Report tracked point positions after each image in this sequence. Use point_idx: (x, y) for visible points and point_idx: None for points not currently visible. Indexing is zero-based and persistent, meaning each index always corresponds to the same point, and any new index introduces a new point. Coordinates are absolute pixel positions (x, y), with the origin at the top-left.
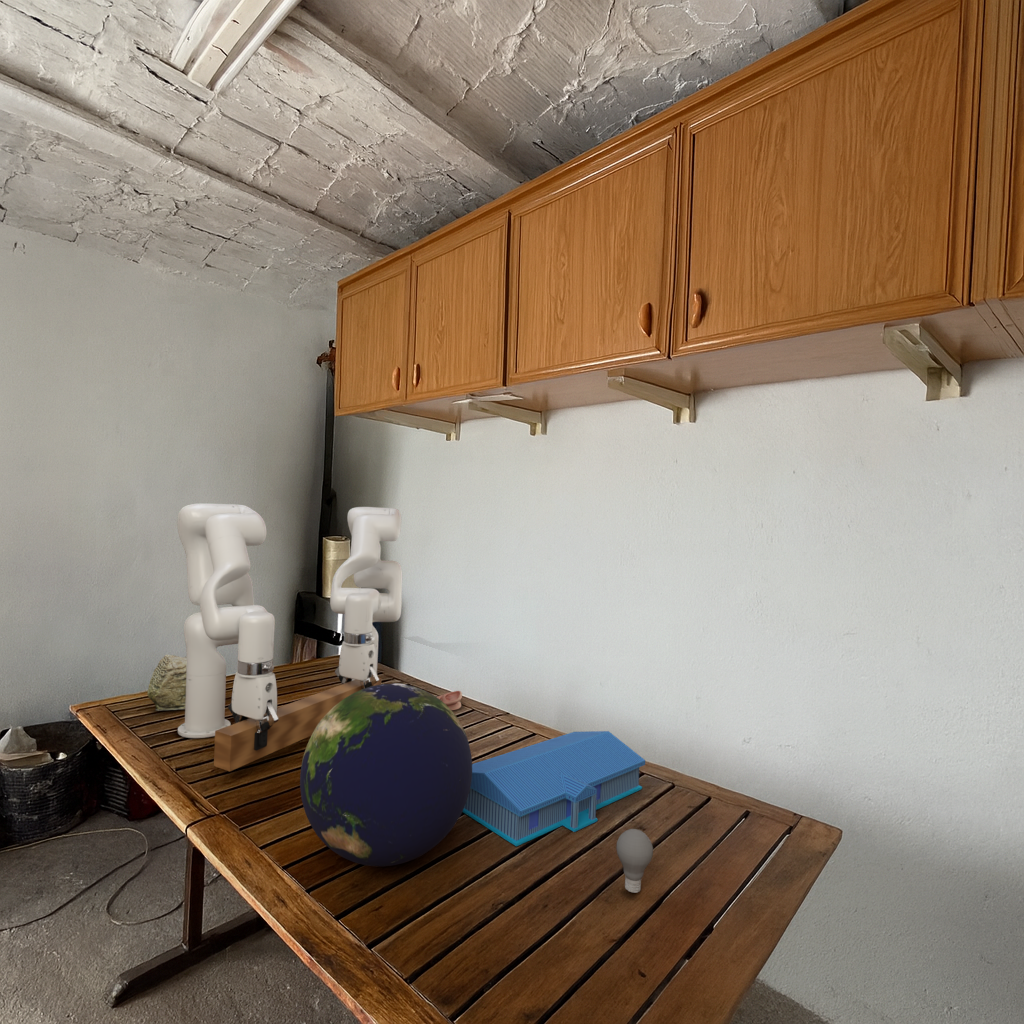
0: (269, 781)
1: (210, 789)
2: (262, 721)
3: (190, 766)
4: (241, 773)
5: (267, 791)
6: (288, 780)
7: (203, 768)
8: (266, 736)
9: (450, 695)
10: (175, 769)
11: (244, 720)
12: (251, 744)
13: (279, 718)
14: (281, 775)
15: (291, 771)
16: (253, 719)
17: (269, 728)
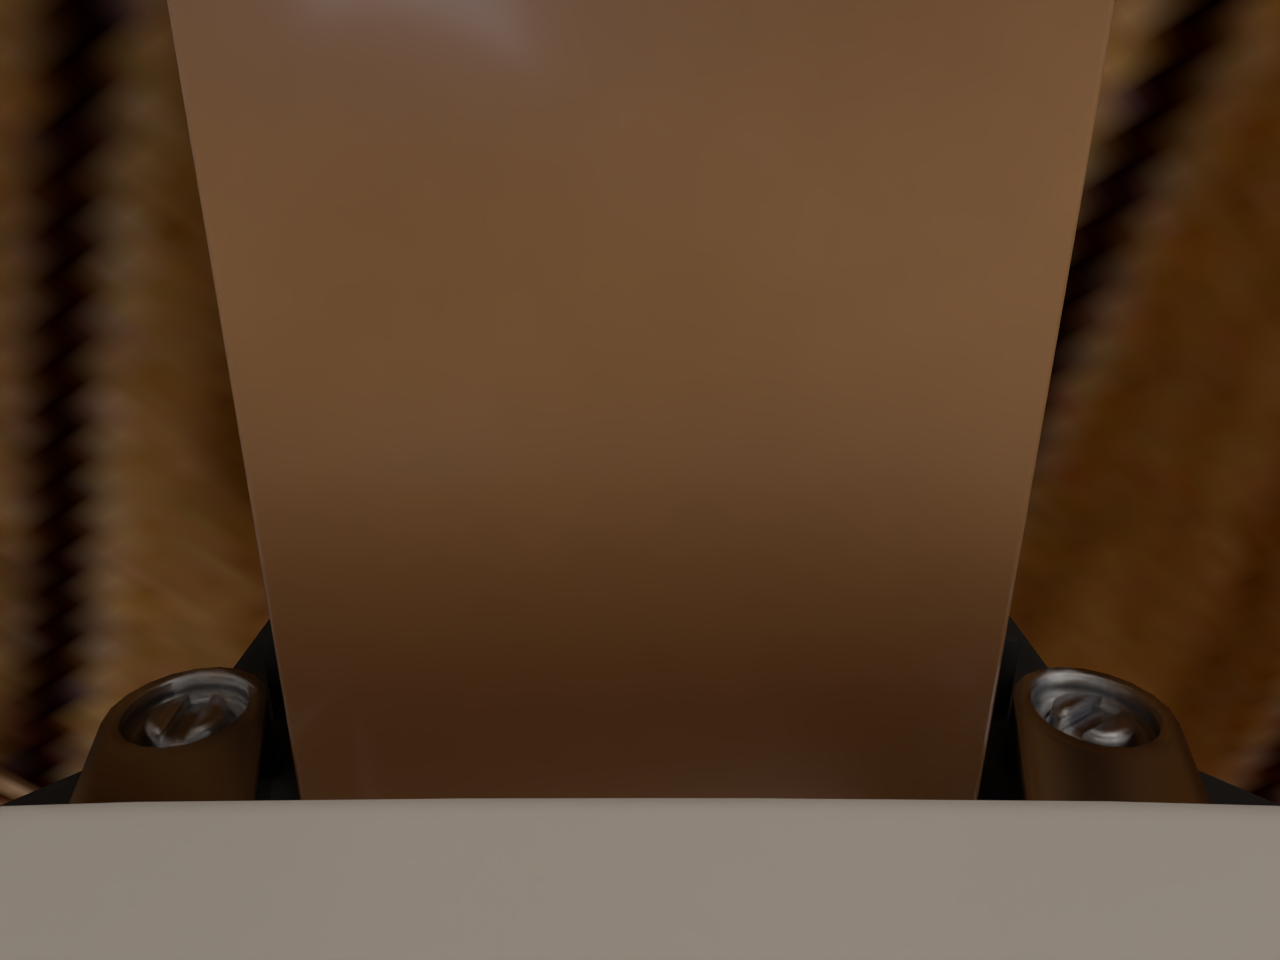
0: (1060, 537)
1: None
2: (840, 737)
3: (57, 685)
4: None
5: (1191, 696)
6: (1252, 416)
7: (202, 655)
8: (1023, 649)
9: None
10: (25, 788)
11: None
12: None
13: (1074, 118)
14: (1088, 360)
15: (1135, 207)
16: (478, 765)
17: (1156, 719)
